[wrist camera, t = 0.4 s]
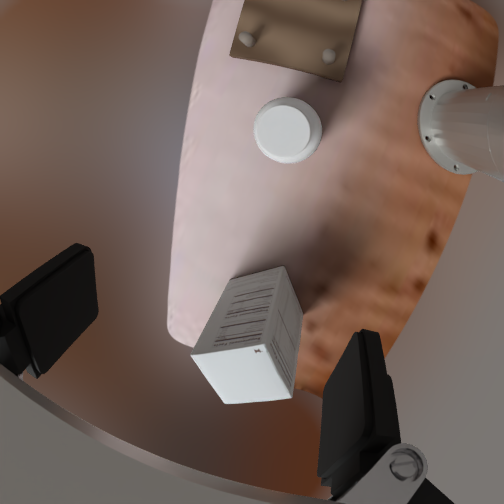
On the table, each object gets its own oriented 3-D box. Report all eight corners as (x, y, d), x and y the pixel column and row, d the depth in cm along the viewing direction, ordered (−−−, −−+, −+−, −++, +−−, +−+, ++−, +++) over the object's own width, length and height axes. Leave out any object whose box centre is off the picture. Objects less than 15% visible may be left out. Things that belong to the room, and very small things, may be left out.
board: (257, -29, 27) (250, -43, 23) (363, -7, 26) (367, -21, 22) (232, 57, 33) (222, 50, 29) (341, 82, 32) (344, 77, 28)
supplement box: (227, 279, 47) (186, 352, 32) (284, 263, 44) (263, 341, 29) (251, 327, 50) (223, 406, 35) (304, 316, 47) (293, 400, 32)
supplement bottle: (329, 115, 34) (335, 112, 23) (309, 161, 37) (305, 181, 26) (279, 94, 34) (260, 83, 23) (260, 141, 37) (234, 152, 26)
